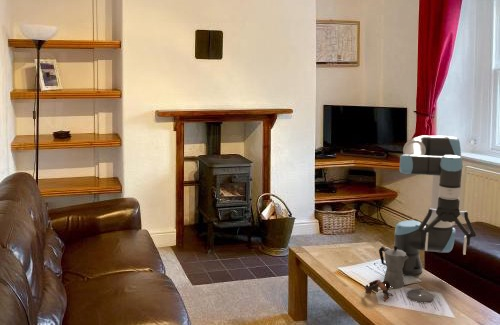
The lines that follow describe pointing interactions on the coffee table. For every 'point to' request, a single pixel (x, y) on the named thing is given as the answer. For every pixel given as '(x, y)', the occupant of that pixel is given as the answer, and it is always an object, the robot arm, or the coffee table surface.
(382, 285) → the pottery mug
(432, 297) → the disc
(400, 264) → the coffeepot
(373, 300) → the coffee table surface
